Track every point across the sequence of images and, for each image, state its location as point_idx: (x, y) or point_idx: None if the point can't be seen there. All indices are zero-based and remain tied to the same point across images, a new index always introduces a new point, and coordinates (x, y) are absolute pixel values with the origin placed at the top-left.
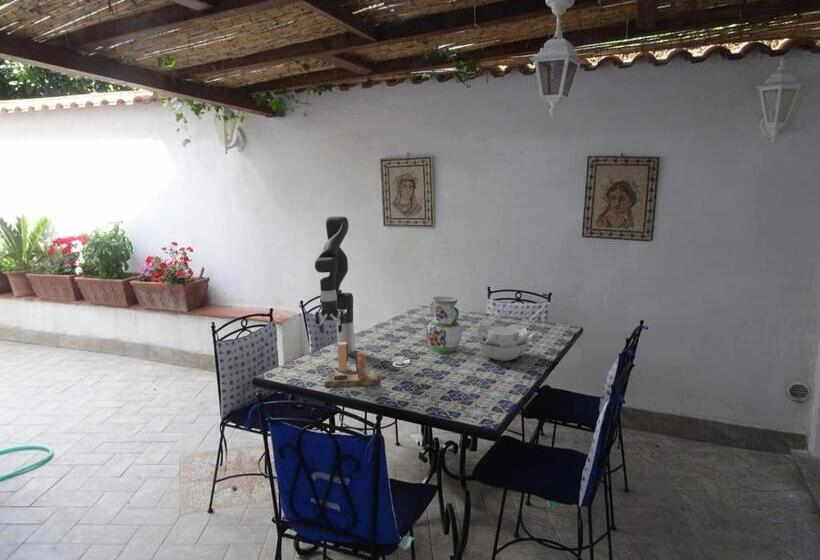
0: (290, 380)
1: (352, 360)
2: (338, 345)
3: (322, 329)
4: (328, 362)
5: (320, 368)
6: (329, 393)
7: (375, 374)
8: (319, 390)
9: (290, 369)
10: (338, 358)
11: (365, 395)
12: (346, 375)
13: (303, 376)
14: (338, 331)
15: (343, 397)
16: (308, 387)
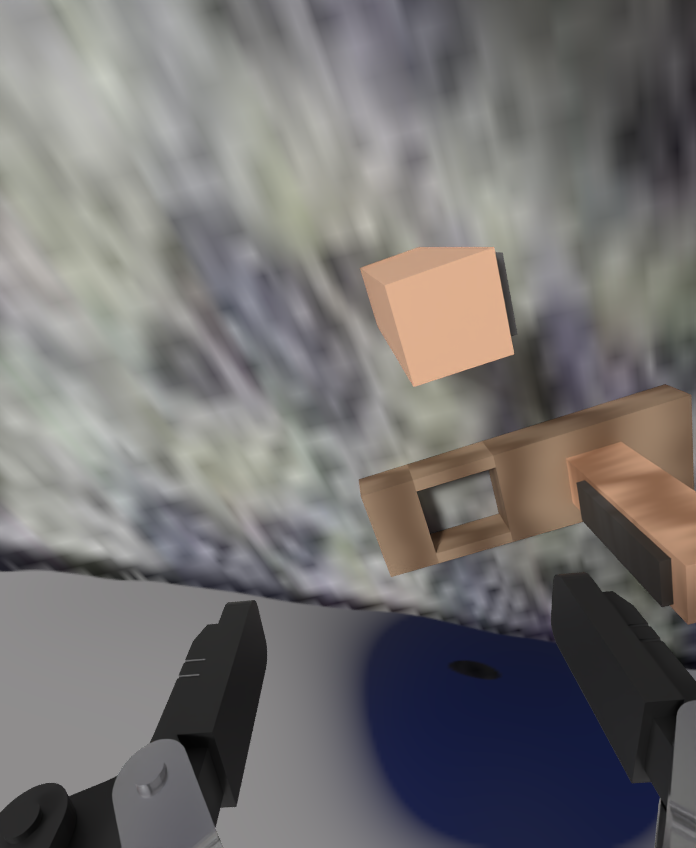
0: (150, 525)
1: (393, 5)
2: (419, 382)
3: (254, 714)
4: (199, 127)
5: (212, 292)
6: (440, 612)
7: (678, 413)
8: (377, 596)
9: (12, 363)
10: (390, 346)
11: (617, 594)
12: (488, 469)
13: (186, 457)
14: (561, 652)
15: (518, 631)
16: (304, 579)
